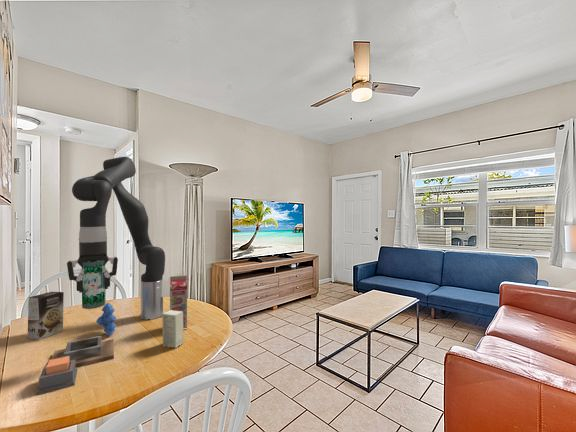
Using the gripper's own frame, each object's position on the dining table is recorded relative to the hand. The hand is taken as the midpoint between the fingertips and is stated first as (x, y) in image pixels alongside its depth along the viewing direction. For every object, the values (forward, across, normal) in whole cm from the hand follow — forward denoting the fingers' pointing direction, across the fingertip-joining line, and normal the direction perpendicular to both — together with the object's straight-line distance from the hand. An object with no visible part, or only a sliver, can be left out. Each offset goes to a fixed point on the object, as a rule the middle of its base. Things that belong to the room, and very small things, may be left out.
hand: (93, 290), depth 91 cm
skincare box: (+24, -24, +4) cm, 34 cm away
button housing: (+23, +8, +10) cm, 26 cm away
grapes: (+23, -4, -20) cm, 31 cm away
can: (+5, 0, 0) cm, 5 cm away
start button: (+20, +8, +10) cm, 24 cm away
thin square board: (+23, +3, -4) cm, 23 cm away
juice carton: (+24, -29, -12) cm, 40 cm away
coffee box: (+23, +16, -33) cm, 44 cm away
